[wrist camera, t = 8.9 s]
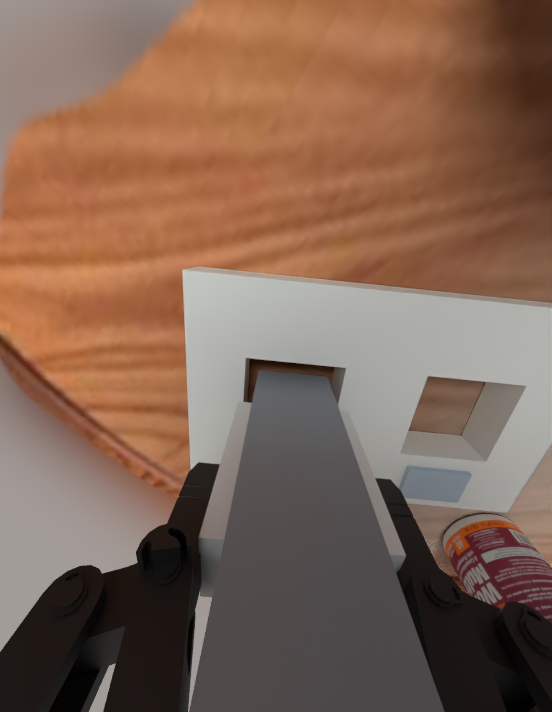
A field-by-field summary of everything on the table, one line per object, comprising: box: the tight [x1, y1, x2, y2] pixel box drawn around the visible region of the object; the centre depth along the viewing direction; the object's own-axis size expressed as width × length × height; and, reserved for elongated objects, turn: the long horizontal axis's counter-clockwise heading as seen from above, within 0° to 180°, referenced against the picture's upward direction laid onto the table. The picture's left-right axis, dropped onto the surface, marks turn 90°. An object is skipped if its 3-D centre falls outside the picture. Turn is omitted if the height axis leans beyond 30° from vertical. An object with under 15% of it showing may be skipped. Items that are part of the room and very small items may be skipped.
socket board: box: [183, 266, 552, 513], centre depth 16 cm, size 14×22×3 cm, turn 85°
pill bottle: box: [443, 514, 552, 624], centre depth 18 cm, size 6×6×11 cm
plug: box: [189, 370, 444, 712], centre depth 10 cm, size 4×4×13 cm
